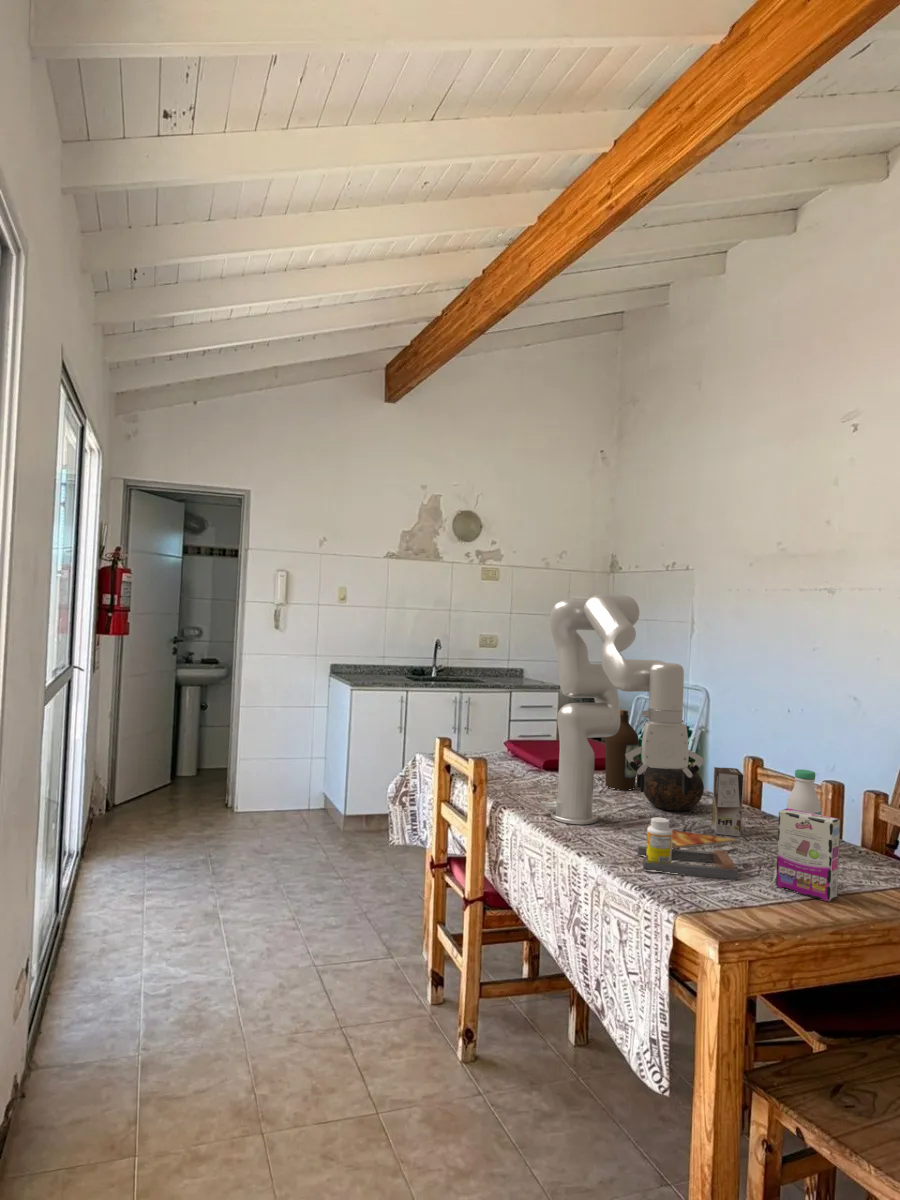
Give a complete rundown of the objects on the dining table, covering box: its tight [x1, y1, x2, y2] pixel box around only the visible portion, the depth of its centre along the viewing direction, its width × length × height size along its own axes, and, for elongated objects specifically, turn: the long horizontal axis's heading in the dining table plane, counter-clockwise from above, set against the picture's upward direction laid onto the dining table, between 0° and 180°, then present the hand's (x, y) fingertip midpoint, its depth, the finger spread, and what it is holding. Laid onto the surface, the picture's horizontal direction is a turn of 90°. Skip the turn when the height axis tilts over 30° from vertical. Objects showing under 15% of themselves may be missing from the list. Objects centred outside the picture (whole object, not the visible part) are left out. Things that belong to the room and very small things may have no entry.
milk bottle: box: [786, 769, 822, 815], centre depth 191 cm, size 8×8×20 cm
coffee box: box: [711, 766, 745, 837], centre depth 207 cm, size 9×6×16 cm
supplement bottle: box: [645, 816, 673, 863], centre depth 177 cm, size 6×6×10 cm
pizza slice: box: [646, 822, 737, 849], centre depth 195 cm, size 16×22×2 cm
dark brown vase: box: [643, 719, 705, 812], centre depth 229 cm, size 18×18×28 cm
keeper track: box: [637, 845, 739, 880], centre depth 177 cm, size 20×12×3 cm, turn 83°
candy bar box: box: [775, 807, 841, 902], centre depth 164 cm, size 11×5×16 cm, turn 45°
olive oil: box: [604, 709, 640, 791], centre depth 252 cm, size 11×11×25 cm
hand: (663, 792), depth 177 cm, fingers open, 9 cm apart
